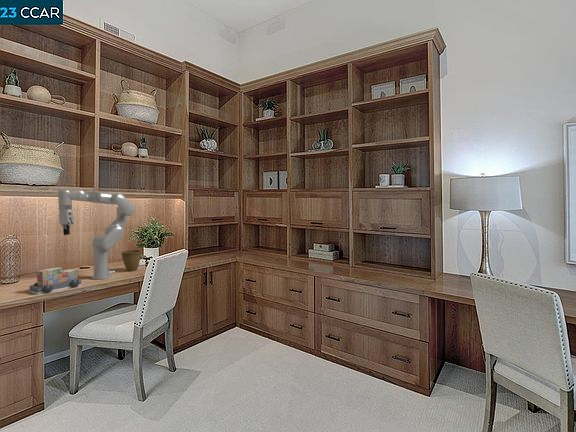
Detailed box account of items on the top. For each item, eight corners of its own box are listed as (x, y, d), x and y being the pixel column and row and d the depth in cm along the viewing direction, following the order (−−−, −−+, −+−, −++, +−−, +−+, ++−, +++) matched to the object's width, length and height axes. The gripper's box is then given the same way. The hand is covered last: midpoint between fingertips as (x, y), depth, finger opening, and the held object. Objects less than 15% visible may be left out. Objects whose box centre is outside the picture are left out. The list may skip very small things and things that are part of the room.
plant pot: (121, 269, 282) (121, 250, 281) (140, 268, 289) (140, 249, 288) (122, 273, 268) (121, 253, 268) (142, 271, 276) (142, 251, 275)
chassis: (71, 283, 235) (71, 276, 235) (82, 285, 228) (82, 278, 228) (28, 291, 213) (28, 283, 212) (39, 294, 206) (39, 286, 206)
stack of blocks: (71, 282, 233) (71, 264, 232) (77, 283, 230) (77, 265, 229) (37, 289, 214) (36, 270, 213) (42, 291, 211) (42, 271, 210)
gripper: (77, 207, 231) (78, 234, 232) (65, 207, 238) (66, 233, 239) (65, 208, 224) (67, 235, 225) (53, 207, 231) (54, 234, 233)
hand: (66, 234), depth 232 cm, fingers closed
